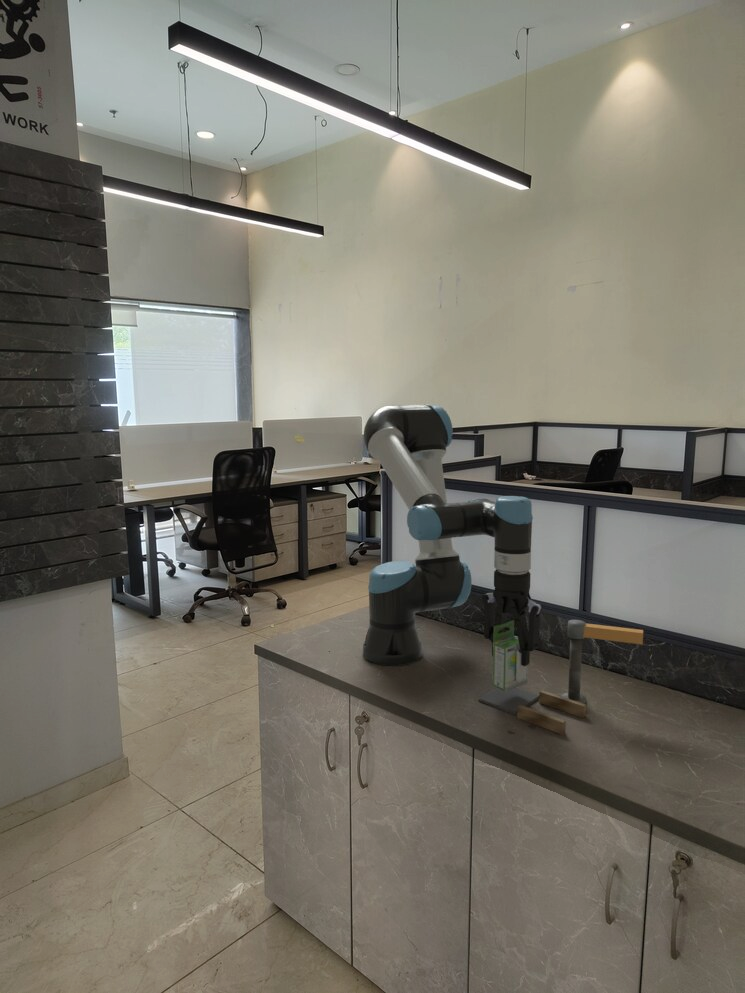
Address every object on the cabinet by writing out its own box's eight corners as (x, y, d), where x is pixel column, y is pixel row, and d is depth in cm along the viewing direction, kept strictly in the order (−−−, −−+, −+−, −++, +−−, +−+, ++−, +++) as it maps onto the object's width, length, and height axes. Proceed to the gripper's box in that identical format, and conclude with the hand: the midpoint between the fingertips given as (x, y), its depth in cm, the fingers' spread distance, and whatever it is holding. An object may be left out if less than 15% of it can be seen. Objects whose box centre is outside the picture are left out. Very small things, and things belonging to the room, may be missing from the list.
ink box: (506, 692, 135) (506, 631, 133) (491, 686, 138) (492, 626, 136) (527, 683, 139) (528, 624, 137) (513, 677, 142) (514, 619, 140)
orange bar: (566, 637, 135) (567, 624, 135) (568, 632, 139) (568, 618, 138) (642, 647, 130) (643, 633, 129) (642, 641, 133) (643, 627, 133)
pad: (478, 701, 138) (478, 698, 138) (503, 685, 146) (503, 683, 146) (515, 714, 132) (515, 711, 132) (539, 698, 140) (539, 695, 139)
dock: (517, 718, 131) (519, 652, 129) (557, 689, 144) (559, 629, 141) (562, 734, 124) (565, 666, 122) (601, 703, 137) (604, 640, 135)
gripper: (467, 566, 138) (466, 669, 141) (541, 581, 126) (538, 693, 129) (486, 560, 143) (485, 659, 147) (559, 573, 131) (556, 681, 135)
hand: (510, 675), depth 138 cm, fingers closed on ink box, 4 cm apart
